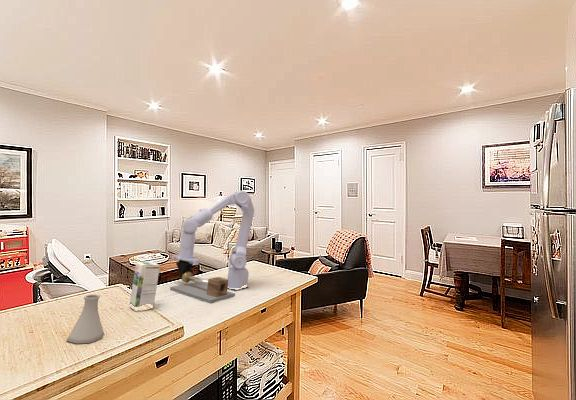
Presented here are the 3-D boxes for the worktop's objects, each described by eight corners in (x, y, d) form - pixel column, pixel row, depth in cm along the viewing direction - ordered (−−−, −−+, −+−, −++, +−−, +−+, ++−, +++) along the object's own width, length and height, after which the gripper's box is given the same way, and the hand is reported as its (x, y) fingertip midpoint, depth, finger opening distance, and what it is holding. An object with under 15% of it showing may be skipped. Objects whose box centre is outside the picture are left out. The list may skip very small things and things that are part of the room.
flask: (79, 330, 72) (86, 290, 73) (109, 333, 73) (115, 293, 73) (59, 343, 65) (66, 298, 66) (92, 346, 65) (99, 301, 66)
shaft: (189, 281, 123) (190, 271, 123) (218, 289, 115) (219, 278, 115) (181, 282, 119) (182, 272, 119) (210, 291, 111) (211, 280, 111)
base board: (196, 284, 127) (196, 282, 127) (234, 296, 116) (235, 293, 116) (170, 289, 115) (170, 286, 115) (209, 303, 104) (210, 300, 104)
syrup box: (128, 306, 92) (135, 261, 93) (147, 304, 96) (153, 261, 97) (134, 312, 88) (141, 265, 89) (154, 309, 92) (160, 264, 93)
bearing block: (217, 291, 116) (219, 276, 116) (226, 294, 113) (228, 279, 114) (206, 294, 111) (208, 278, 111) (216, 297, 108) (218, 281, 109)
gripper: (168, 244, 123) (163, 276, 122) (191, 250, 116) (186, 283, 115) (181, 244, 129) (177, 274, 128) (204, 249, 122) (200, 281, 121)
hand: (182, 278), depth 122 cm, fingers closed
